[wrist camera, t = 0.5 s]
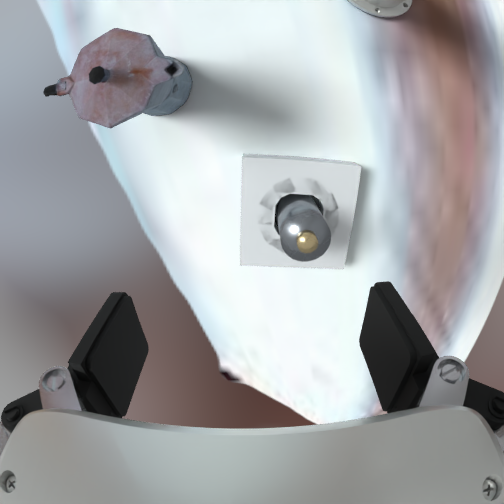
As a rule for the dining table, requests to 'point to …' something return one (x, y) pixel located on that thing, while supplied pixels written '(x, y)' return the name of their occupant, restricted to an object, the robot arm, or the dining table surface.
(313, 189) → the housing
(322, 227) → the end cover
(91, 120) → the moka pot
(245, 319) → the dining table surface
